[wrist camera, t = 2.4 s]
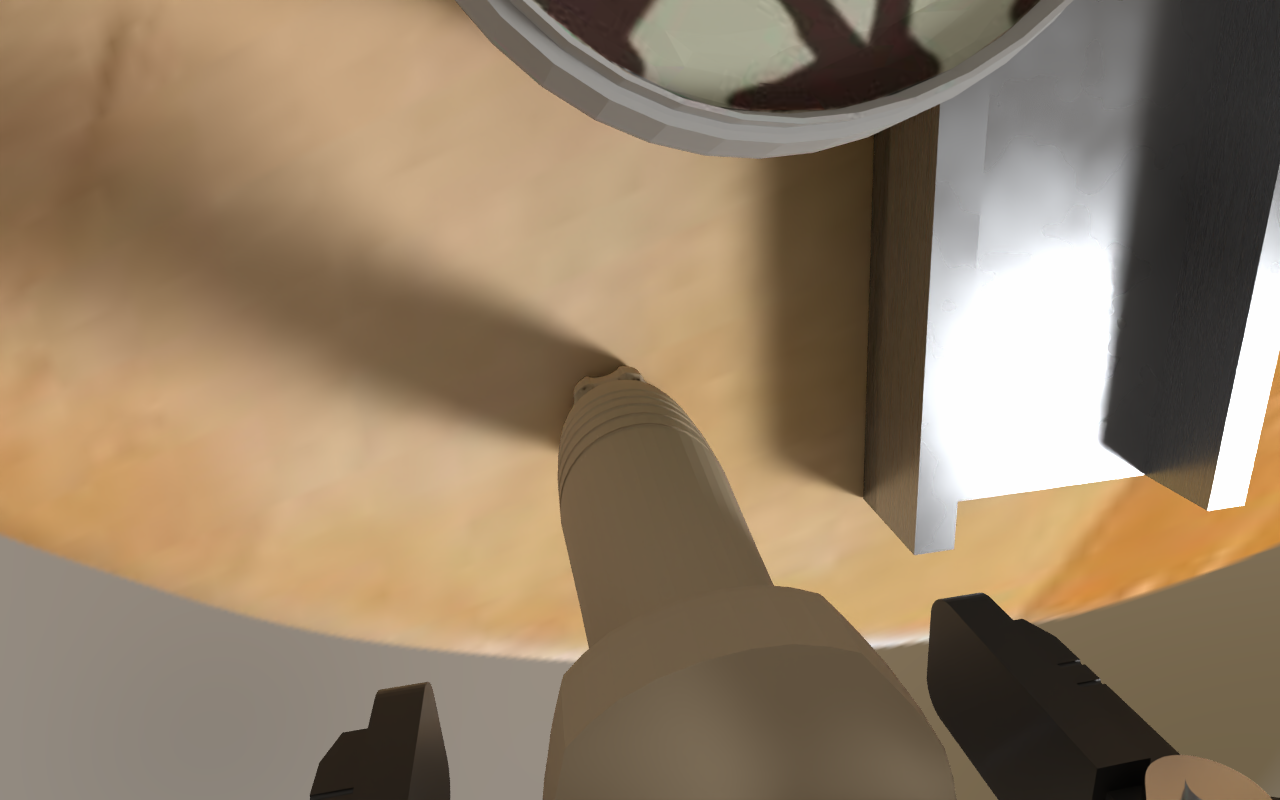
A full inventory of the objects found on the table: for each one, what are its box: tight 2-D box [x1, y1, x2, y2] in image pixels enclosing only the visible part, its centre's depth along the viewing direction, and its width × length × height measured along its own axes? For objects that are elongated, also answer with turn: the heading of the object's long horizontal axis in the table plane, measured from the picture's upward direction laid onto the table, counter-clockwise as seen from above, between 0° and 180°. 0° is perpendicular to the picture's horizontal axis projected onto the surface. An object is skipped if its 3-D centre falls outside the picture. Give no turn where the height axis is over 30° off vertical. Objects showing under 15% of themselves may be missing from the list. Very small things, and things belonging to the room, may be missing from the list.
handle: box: [543, 366, 957, 800], centre depth 16 cm, size 5×6×15 cm
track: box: [863, 0, 1280, 555], centre depth 21 cm, size 20×10×4 cm, turn 4°
